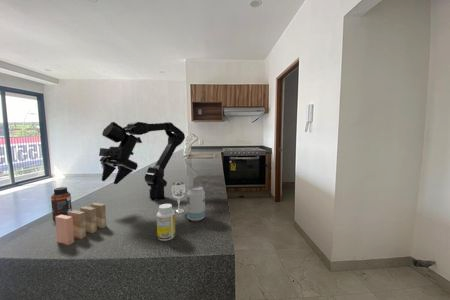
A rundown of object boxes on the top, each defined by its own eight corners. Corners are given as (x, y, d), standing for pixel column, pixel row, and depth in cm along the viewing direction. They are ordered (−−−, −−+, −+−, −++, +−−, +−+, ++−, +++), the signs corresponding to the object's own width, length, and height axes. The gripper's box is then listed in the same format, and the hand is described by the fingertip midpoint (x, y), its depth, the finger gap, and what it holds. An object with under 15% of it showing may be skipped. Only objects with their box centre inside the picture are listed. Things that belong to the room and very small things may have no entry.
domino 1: (63, 239, 60) (61, 214, 59) (74, 242, 58) (72, 216, 57) (57, 242, 58) (55, 216, 58) (68, 245, 57) (66, 219, 56)
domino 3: (86, 228, 67) (84, 206, 66) (96, 230, 65) (95, 208, 64) (81, 230, 65) (80, 207, 64) (92, 233, 63) (90, 209, 63)
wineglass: (188, 209, 83) (187, 182, 82) (181, 215, 78) (180, 185, 77) (176, 208, 85) (176, 181, 84) (169, 213, 79) (168, 184, 78)
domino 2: (75, 233, 63) (73, 210, 63) (86, 236, 62) (84, 212, 61) (70, 236, 62) (68, 212, 61) (80, 238, 60) (79, 214, 59)
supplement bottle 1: (75, 214, 78) (73, 187, 77) (57, 220, 73) (55, 191, 72) (66, 211, 81) (65, 185, 80) (49, 217, 75) (47, 189, 74)
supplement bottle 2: (169, 230, 65) (168, 201, 64) (178, 236, 62) (178, 205, 61) (153, 237, 61) (152, 206, 60) (163, 243, 57) (162, 210, 56)
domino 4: (96, 223, 70) (95, 202, 69) (106, 226, 68) (105, 204, 68) (92, 225, 68) (90, 204, 68) (102, 228, 67) (101, 205, 66)
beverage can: (205, 221, 72) (205, 190, 71) (186, 223, 70) (186, 191, 69) (204, 214, 78) (204, 185, 77) (187, 215, 77) (186, 186, 76)
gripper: (97, 138, 81) (77, 172, 76) (121, 139, 72) (101, 178, 66) (120, 149, 90) (104, 181, 85) (145, 151, 80) (128, 188, 75)
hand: (108, 182), depth 77 cm, fingers open, 9 cm apart
